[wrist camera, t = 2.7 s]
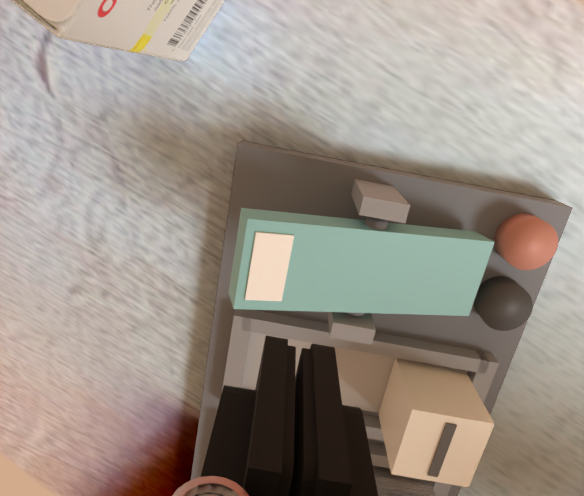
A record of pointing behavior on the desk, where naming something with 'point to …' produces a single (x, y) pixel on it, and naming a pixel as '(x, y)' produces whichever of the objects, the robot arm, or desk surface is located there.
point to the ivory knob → (433, 423)
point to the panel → (377, 326)
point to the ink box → (128, 23)
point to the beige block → (400, 484)
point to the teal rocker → (354, 265)
